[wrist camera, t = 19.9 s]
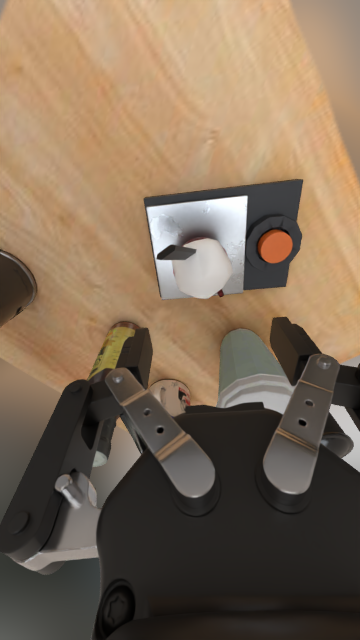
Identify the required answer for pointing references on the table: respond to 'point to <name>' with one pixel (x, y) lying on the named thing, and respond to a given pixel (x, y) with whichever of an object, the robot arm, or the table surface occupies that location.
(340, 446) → the drinking cup
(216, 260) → the cocoa
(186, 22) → the table surface
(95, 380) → the sauce bottle
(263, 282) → the scale
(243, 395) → the disposable coffee cup
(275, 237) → the power button
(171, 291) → the weighing plate
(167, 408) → the teacup with lid
